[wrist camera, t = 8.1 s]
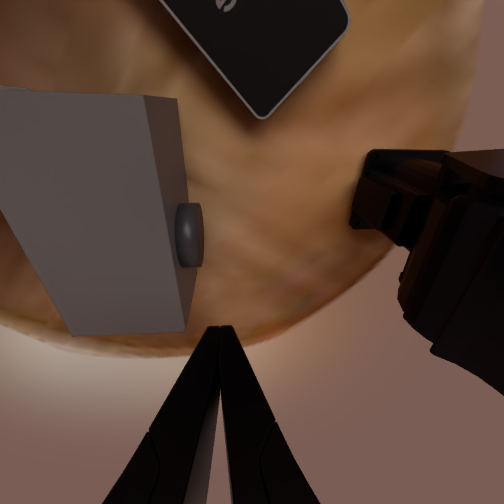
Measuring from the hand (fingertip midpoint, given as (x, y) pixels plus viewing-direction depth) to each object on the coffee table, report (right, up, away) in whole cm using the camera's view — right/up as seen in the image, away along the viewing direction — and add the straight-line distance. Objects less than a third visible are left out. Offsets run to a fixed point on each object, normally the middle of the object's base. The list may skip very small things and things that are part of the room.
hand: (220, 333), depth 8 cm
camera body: (-8, +7, +10) cm, 15 cm away
